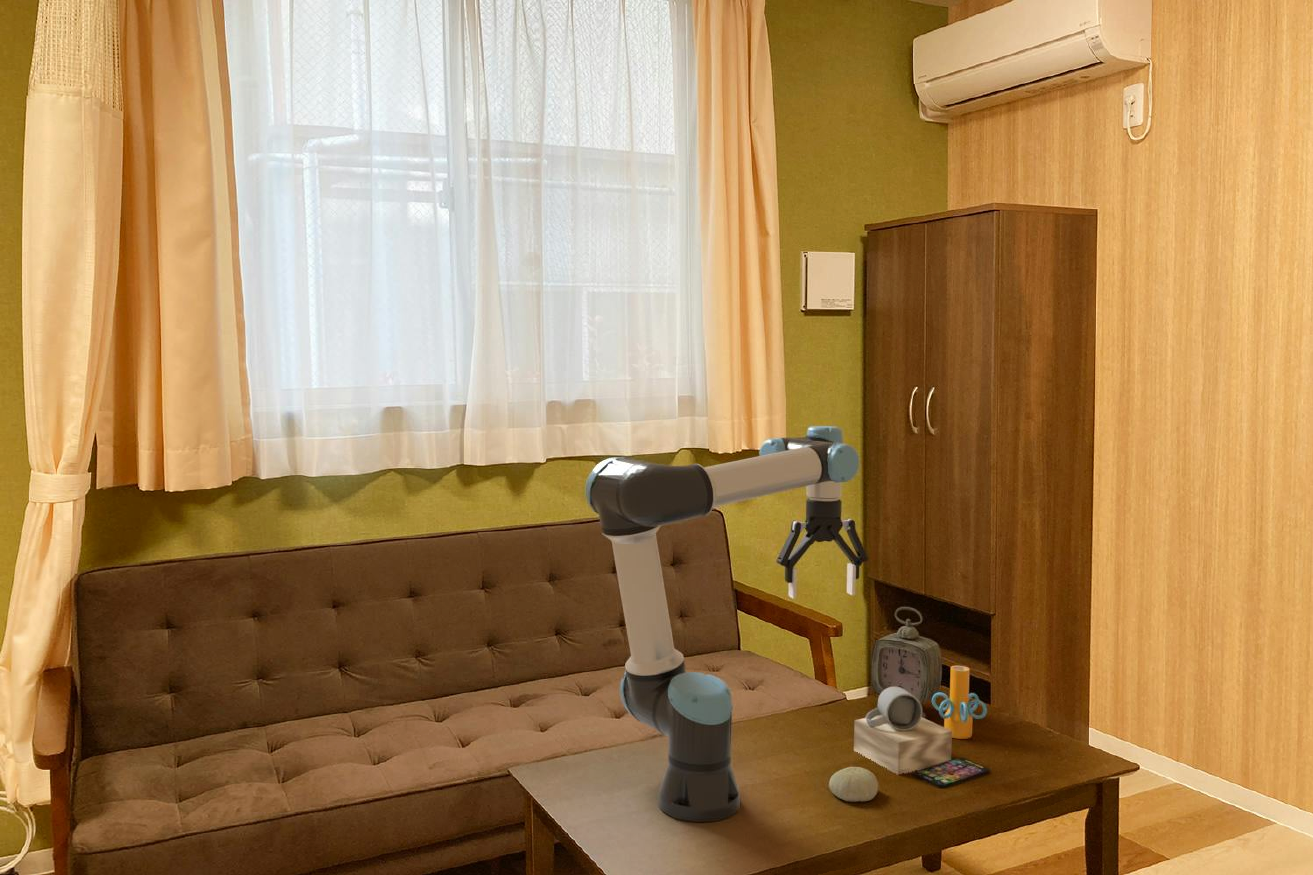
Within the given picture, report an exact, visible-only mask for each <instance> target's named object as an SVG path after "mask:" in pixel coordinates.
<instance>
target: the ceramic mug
mask: <svg viewBox="0 0 1313 875" xmlns="http://www.w3.org/2000/svg"><path fill="white" fill-rule="evenodd" d="M877 704H878V707H877V706H876V707H875V708H874V709H872V710H870V711H869V712H867V714H866V715H865V718H866V721H867V723H868V725H869V726H871V727H876V726H880V725H883V724H886V723H889V724H890V725H891V726H892V727H893V728H895V729H897V730H900V731H907V730H911V729H913V728H914V727H916V726H917V724H918V723H919V722H920V720H921V717H922V706H921V704H920V702H919V700H918V699H917V698H916V697H915V696H913V695H912V694H910V693H909V692H907V691H906V690H904V689H903V688H900V687H889V688H886V689H885V690H883V691H882V693H881V694H880V695H878V699H877ZM878 715H882V716H883V717H880V718H878V719H873V718H874V717H875V716H878ZM871 719H873V720H871Z"/></svg>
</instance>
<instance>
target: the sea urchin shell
mask: <svg viewBox="0 0 1313 875" xmlns="http://www.w3.org/2000/svg"><path fill="white" fill-rule="evenodd" d="M879 785H880V784H879V782H878V780H877V777H876V776H875V774H874V773H873V772H871V771H870V770H868V769H866V768H864V767H860V766H848V767H844V768H843V769H840V770H837V771H836V772H835V773H833V774H832V776H831V777H830V779H829V781H828V788H829V790H830V791H831V793H832V794H833V795H834V796H836V797H837V798H838V799H840V800H841V799H842V801H844V802H848V801H849V802H852V803H853V802H854V803H855V802H858V803H859V801H860V803H863V802H868V801H871V800H873V799H874V798H875V796H877V793H878V791H879V790H878V789H879Z"/></svg>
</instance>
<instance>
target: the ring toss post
mask: <svg viewBox="0 0 1313 875" xmlns="http://www.w3.org/2000/svg"><path fill="white" fill-rule="evenodd" d="M970 669H971V668H969V667H967V666H965V665H952V666H950V673H949V674H950V678H949V696H948V695H947V694H946V693H945V692H938V693H936V694H934V696H933V697H932V699H931V703H932V706H933V708H935V709H936V711H938V713H939V716H940V717H941V718H942V719H943V720H944V721H943V722H944V723H943V727H944V728H946V729H948V730H951V731H952V738H953V739H956V740H957V739H958V740H960V739H961V740H963V739H964V740H966V739H970V738H971V737H972V736H973V721H974V720H973V719H976V720H981V719H983V718H985V717H986V715H987V713H988V710H987V709H988V708H987V705H986V704H985V703H984V702H983V701H981V699H979V698H980V697H979V696H978V695H977V693H975V692H970ZM938 697H943V698H944V700H943V701H941V703H940V704H939V705H938V704H937V703H936V700H937V699H938ZM971 698H974V699H972V700H971ZM945 705H946V706H945ZM979 705H980V706H981V707H982V713H981V714H975V713H974V711H976V710H977V709H978V706H979ZM972 706H973V707H972ZM944 712H945V713H944Z"/></svg>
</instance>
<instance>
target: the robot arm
mask: <svg viewBox="0 0 1313 875" xmlns="http://www.w3.org/2000/svg"><path fill="white" fill-rule="evenodd" d="M843 437H844V434H843V430H842V428H840V427H839V426H834V425H833V426H831V425H813V426H809V427H808V428H807V433H806V436H795V437H794V436H792V437H776V438H768V439H766V440H765V441H763V443H762V444H761V446H760V448H759V451H758V453H759V455H758V456H754V457H748V458H744V459H739V460H734V461H729V462H724V463H719V464H714V465H709V466H705V467H704V466H703V465H701V464H699V463H692V464H687V465H669V464H661V463H655V462H649V461H645V460H639V459H633V458H631V457H627V456H622V457H615V456H613V457H609V458H606V459H604V460H602V461H600V462H599V463H598V464H596V465H595V467H593V469H592V471H591V472H590V474H589V475H588V477H587V478H586V481H585V482H586V483H585V492H584V493H585V498H586V499H585V500H586V502H587V505H589V507H590V509H592V511H593V512H594V513H595V514H597V515H598V518H599V523H600V530H601V533H602V535H603V536H604V537H606V538H607V539H608V540H610V541H611V544H612V551H613V557H614V558H613V559H614V563H615V568H616V569H615V570H616V575H617V580H618V581H617V582H618V587H619V592H620V597H621V604H622V609H623V615H624V622H625V627H626V634H627V639H628V640H627V641H628V644H629V645H628V646H629V651H630V656H629V658H628V659H627V660H626V662H625V665H624V668H625V671H624V673H623V675H624V676H623V678H621V680H620V685H619V695H620V700H621V703H622V705H623V707H624V708H625V710H626V711H627V712H628V713H629V715H631V716H632V717H633V718H634V719H635V720H636V721H638V722H640V723H642V724H643V725H647V727H650V728H651V729H654V730H655V731H656V732H659V733H660V734H662V735H663V736H665V737H667V738H668V740H667V741H668V744H667V745H668V746H667V747H668V750H667V752H668V757H667V758H668V760H667V761H668V763H667V765H666V769H665V771H664V775H663V777H662V781H661V784H660V785H659V786H660V787H659V789H658V808H660V810H661V811H662V812H663V813H665V814H666V815H668V816H670V817H672V818H675V819H677V820H682V821H687V822H694V823H695V822H696V823H697V822H698V823H706V822H707V823H709V822H715V821H721V820H725V819H728V818H729V817H732V816H733V815H735V814H736V813H737V812H739V809H740V806H741V804H740V803H741V800H740V799H741V797H740V795H741V794H740V789H739V786H738V782H737V780H736V778H735V774H734V770H733V766H732V726H733V725H732V724H733V722H732V720H733V718H732V716H733V709H734V708H733V703H732V692H731V689H730V687H729V685H728V684H727V683H726V681H724V680H723V679H721V678H719V677H717V676H715V675H712V674H710V673H708V674H704V673H703V672H697V671H696V672H695V671H694V672H692V671H691V672H687V670H686V665H685V657H684V654H683V653H682V652H681V651H679V650H677V649H676V648H675V644H674V640H673V639H674V638H673V632H672V626H671V618H670V615H669V608H668V602H667V595H666V589H665V584H664V577H663V570H662V564H661V563H662V562H661V559H660V551H659V545H658V541H657V540H658V539H657V532H658V531H659V529H660V528H661V526H666V525H671V524H675V523H680V522H684V521H688V520H691V519H697V518H700V517H704V516H708V515H709V514H710V513H711V512H712V510H713V509H714V508H718V507H723V506H726V505H730V504H731V505H732V504H735V503H739V502H743V501H748V500H751V499H752V500H753V499H756V498H760V497H765V496H770V495H773V494H778V493H782V492H786V491H791V490H794V489H799V488H803V487H806V488H805V489H806V490H805V491H806V496H807V499H806V500H805V520H804V522H803V521H802V522H801V521H797V520H792V521H791V525H790V531H789V534H788V536H787V538H786V539H785V542H784V544H783V545H782V548H781V551H780V552H779V555H778V556H777V558H776V563H777V564H778V565H780V566H782V567H784V580H785V582H786V583H787V584H788V597H790V599H792V600H796V599H797V595H798V593H797V591H798V590H797V589H798V588H797V587H798V568H796V567H795V566H796V564H797V563H798V562H799V561H800V559H801V558H802V557H803V556H804V554H806V552H807V551H808V549H809V548H810V547H811V546H812V545H813V544H814V543H815V542H817V543H822V542H829V543H830V542H832V541H833V542H835V544H836V545H837V546H838V548H839V549H840V550H841V551H842V553H843V554H844V555H845V556H846V557H847V559H848V560H849V561H850V563H849V562H847V563H846V594H849V595H850V596H856V582H857V580H859V579H860V566H862V565H863V563H864V562H865V563H867V562H868V560H869V557H868V555H867V552H866V550H865V548H864V546H863V543H862V541H861V539H860V537H859V534H858V533H857V530H856V522H855V520H853V519H851V518H846V519H845V520H842V518H841V517H842V502H843V501H842V500H841V499H840V498H842V496H843V483H848V482H850V481H852V480H853V479H854V478H855V477H856V475H857V474H858V471H859V468H860V456H859V453H858V452H857V450H856V448H854V447H853V446H851V445H849V444H846V443H844V438H843ZM842 528H843V529H844V530H845V531H846V533H847V536H848V538H849V540H850V542H851V544H852V547H853V549H854V551H853V550H852V548H851V547H850V546H849V544H847V542H846V541H845V540H844V538H843V536H842V535H841V534H840V531H841V530H842ZM803 530H806V533H805V534H804V535H803V537H802V539H801V541H800V542H799V544H797V542H798V540H799V537H800V535H801V533H802V532H803ZM796 544H797V545H796ZM795 546H796V547H795ZM794 547H795V549H794Z"/></svg>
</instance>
